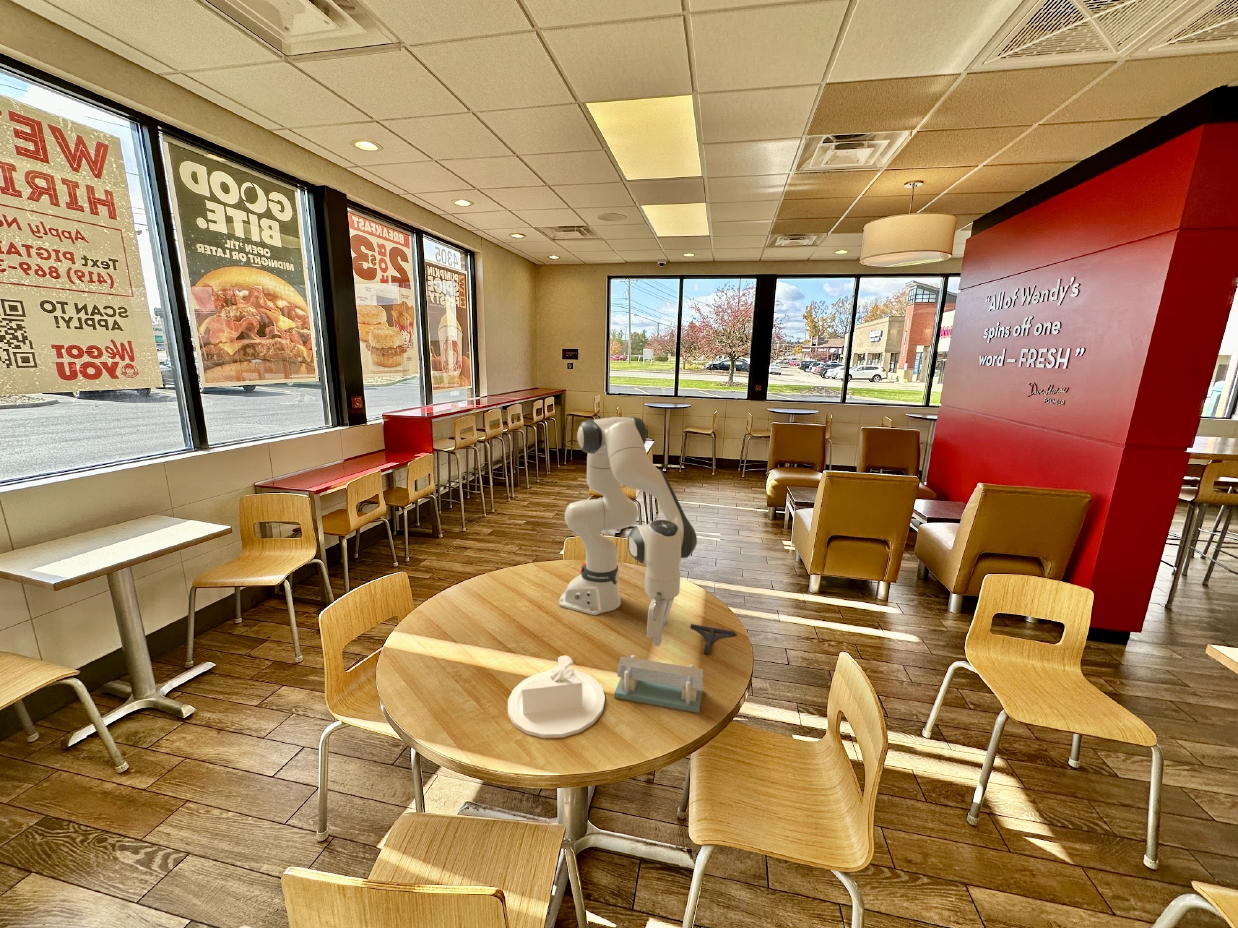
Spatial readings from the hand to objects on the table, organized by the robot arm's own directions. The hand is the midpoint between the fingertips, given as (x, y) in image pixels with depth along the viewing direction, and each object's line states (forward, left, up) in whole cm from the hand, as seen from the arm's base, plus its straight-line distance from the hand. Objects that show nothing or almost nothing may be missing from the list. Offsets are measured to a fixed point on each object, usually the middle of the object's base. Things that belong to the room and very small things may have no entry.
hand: (660, 634), depth 128 cm
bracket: (+11, +29, -18) cm, 36 cm away
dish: (-25, -10, -18) cm, 32 cm away
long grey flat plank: (0, 0, -13) cm, 13 cm away
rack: (0, 0, -17) cm, 17 cm away
